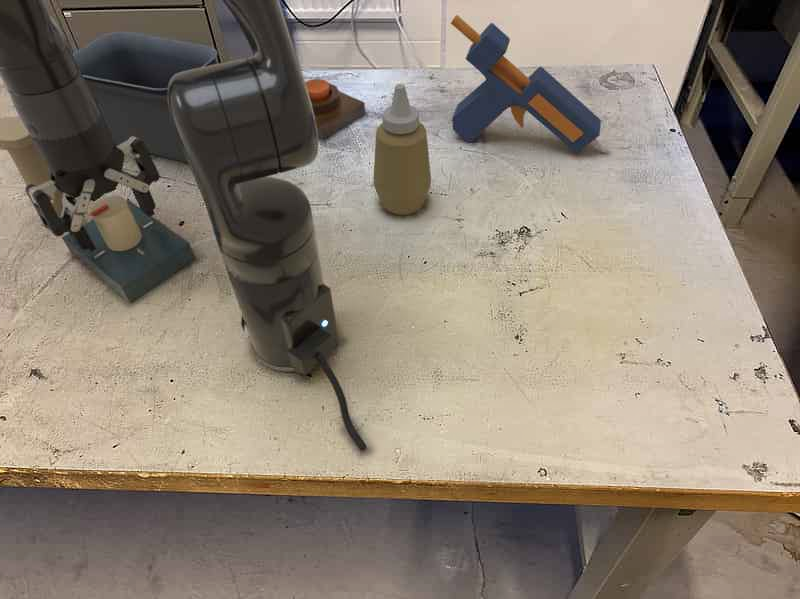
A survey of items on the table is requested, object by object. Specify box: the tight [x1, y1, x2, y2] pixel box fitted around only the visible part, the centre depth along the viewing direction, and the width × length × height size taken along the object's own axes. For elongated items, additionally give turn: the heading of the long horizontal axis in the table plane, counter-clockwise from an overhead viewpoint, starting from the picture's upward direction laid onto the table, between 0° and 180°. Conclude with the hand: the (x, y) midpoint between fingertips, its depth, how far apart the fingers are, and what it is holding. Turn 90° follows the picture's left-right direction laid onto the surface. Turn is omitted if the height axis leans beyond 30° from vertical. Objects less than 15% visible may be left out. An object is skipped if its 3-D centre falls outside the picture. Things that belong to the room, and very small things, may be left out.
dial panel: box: [61, 199, 196, 304], centre depth 78 cm, size 14×10×3 cm
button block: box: [311, 82, 366, 141], centre depth 100 cm, size 12×10×4 cm
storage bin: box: [72, 31, 219, 164], centre depth 92 cm, size 21×16×14 cm
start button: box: [305, 78, 330, 102], centre depth 98 cm, size 4×4×2 cm
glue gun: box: [450, 14, 607, 154], centre depth 92 cm, size 6×31×15 cm
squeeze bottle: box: [372, 83, 432, 216], centre depth 79 cm, size 8×8×18 cm
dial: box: [89, 195, 142, 251], centre depth 75 cm, size 4×4×6 cm
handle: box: [0, 116, 63, 218], centre depth 79 cm, size 5×6×15 cm
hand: (119, 230), depth 76 cm, fingers open, 8 cm apart
